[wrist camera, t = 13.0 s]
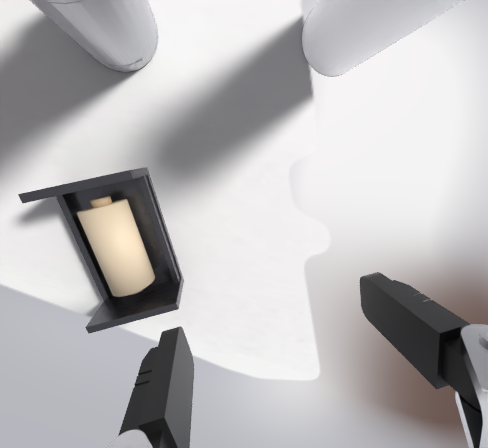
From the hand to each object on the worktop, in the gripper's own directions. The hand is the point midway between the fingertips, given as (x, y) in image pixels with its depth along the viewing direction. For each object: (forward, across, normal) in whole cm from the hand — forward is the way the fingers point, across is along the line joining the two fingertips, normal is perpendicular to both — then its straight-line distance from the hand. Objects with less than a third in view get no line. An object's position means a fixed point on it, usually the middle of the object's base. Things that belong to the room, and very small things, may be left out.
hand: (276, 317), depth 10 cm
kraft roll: (+27, +16, +2) cm, 32 cm away
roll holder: (+28, +16, +2) cm, 32 cm away
